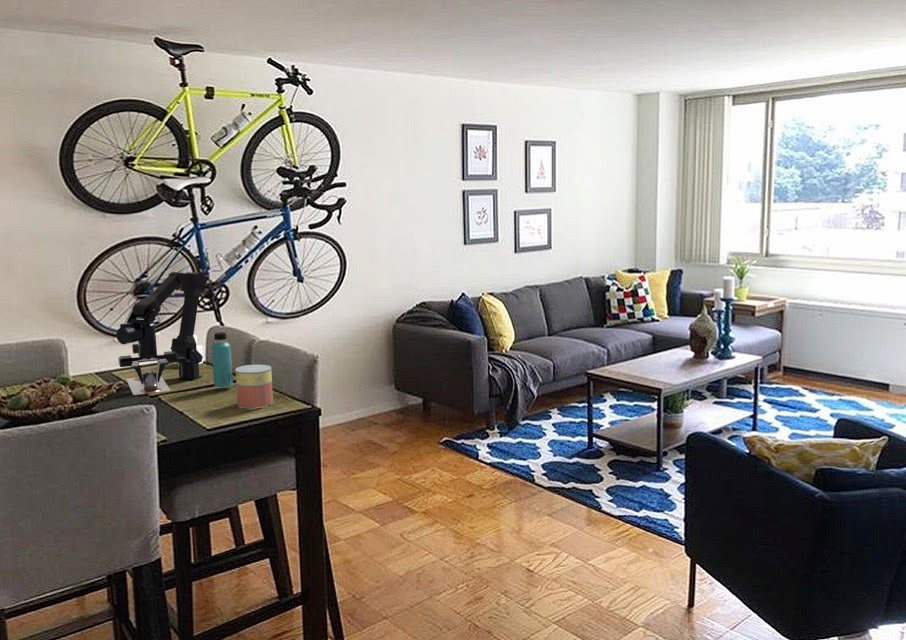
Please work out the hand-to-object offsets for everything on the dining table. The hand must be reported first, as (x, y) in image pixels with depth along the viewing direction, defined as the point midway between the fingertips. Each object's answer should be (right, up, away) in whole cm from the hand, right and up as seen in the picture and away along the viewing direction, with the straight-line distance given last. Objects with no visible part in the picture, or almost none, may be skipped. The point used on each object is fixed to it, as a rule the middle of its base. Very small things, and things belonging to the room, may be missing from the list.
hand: (150, 383), depth 265 cm
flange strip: (-4, -1, +8) cm, 9 cm away
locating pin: (0, -2, 0) cm, 2 cm away
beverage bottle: (+25, -2, +2) cm, 25 cm away
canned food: (+41, -6, -18) cm, 45 cm away
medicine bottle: (0, +4, +40) cm, 40 cm away
